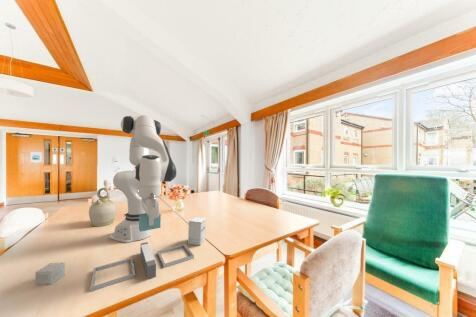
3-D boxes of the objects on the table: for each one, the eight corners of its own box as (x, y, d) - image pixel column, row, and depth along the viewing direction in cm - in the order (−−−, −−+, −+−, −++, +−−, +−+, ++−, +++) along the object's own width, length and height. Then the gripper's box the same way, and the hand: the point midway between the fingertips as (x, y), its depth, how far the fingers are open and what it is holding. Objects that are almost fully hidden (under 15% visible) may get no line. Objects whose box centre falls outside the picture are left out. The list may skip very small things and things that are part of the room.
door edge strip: (156, 276, 70) (156, 262, 70) (147, 279, 68) (147, 265, 68) (147, 251, 88) (147, 241, 88) (140, 253, 86) (140, 242, 86)
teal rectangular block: (140, 231, 75) (140, 217, 75) (138, 228, 78) (139, 214, 78) (160, 227, 79) (160, 214, 79) (158, 224, 82) (158, 212, 82)
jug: (102, 219, 133) (103, 185, 133) (121, 220, 131) (121, 186, 131) (82, 226, 118) (82, 189, 118) (102, 228, 116) (103, 190, 116)
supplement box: (200, 245, 95) (200, 222, 95) (187, 244, 97) (188, 221, 97) (205, 239, 102) (206, 217, 102) (193, 238, 104) (194, 216, 104)
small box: (50, 275, 70) (50, 262, 70) (65, 274, 70) (65, 262, 70) (34, 285, 64) (34, 271, 64) (50, 285, 65) (51, 271, 65)
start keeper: (194, 258, 83) (194, 255, 83) (163, 267, 76) (163, 265, 76) (184, 246, 94) (184, 243, 94) (157, 253, 87) (157, 251, 87)
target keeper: (135, 277, 70) (135, 273, 70) (90, 291, 62) (90, 288, 62) (132, 260, 81) (132, 257, 81) (93, 270, 73) (93, 267, 73)
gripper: (163, 195, 72) (162, 229, 72) (153, 187, 89) (153, 215, 89) (146, 197, 68) (145, 232, 68) (139, 188, 85) (138, 217, 85)
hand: (149, 222), depth 79 cm, fingers closed on teal rectangular block, 4 cm apart
